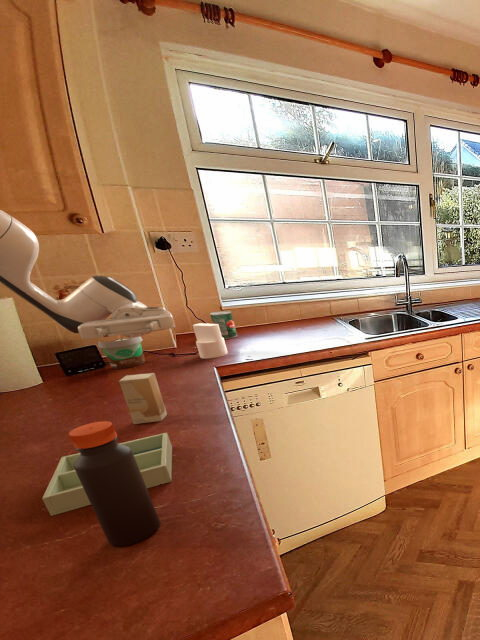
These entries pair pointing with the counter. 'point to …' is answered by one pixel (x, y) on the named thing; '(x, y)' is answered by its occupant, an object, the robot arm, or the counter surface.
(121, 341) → the food container
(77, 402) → the counter surface
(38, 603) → the counter surface
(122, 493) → the bottle
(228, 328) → the canned tomato
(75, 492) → the grid
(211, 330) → the base with upright slab
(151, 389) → the cosmetic box
